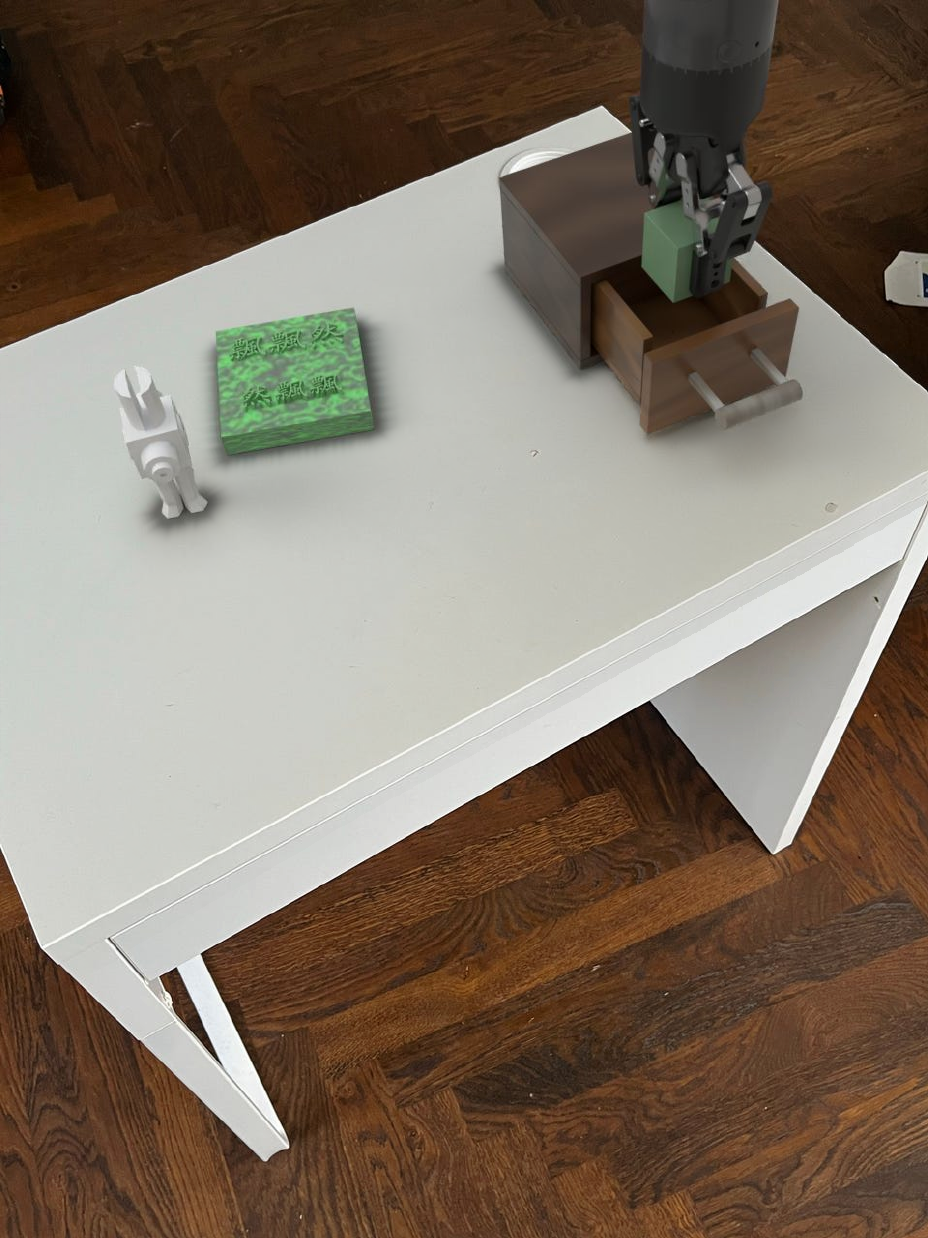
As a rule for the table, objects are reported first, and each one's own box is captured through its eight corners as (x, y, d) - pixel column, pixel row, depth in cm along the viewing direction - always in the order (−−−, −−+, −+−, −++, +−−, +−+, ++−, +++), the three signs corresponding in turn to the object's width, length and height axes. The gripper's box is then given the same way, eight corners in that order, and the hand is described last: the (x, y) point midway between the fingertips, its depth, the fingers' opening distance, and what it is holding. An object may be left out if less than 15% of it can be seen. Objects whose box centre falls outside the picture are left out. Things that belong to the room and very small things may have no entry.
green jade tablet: (227, 454, 87) (219, 431, 85) (221, 349, 94) (214, 326, 92) (374, 429, 87) (369, 405, 85) (357, 325, 94) (352, 302, 92)
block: (696, 246, 82) (701, 191, 79) (729, 282, 80) (737, 227, 76) (641, 266, 82) (643, 212, 78) (673, 303, 79) (677, 248, 75)
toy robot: (200, 456, 87) (152, 333, 77) (217, 530, 83) (168, 409, 73) (149, 470, 87) (95, 348, 77) (163, 545, 82) (107, 425, 72)
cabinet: (724, 315, 91) (736, 220, 84) (580, 369, 89) (580, 277, 82) (639, 221, 99) (643, 127, 92) (504, 269, 97) (498, 177, 89)
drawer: (827, 427, 82) (845, 353, 77) (685, 484, 80) (692, 413, 75) (697, 284, 92) (705, 210, 86) (567, 332, 90) (567, 260, 84)
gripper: (835, 67, 63) (789, 312, 77) (700, -40, 71) (680, 200, 85) (716, 108, 62) (691, 350, 76) (592, -5, 70) (590, 232, 84)
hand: (685, 269), depth 80 cm, fingers closed on block, 4 cm apart
